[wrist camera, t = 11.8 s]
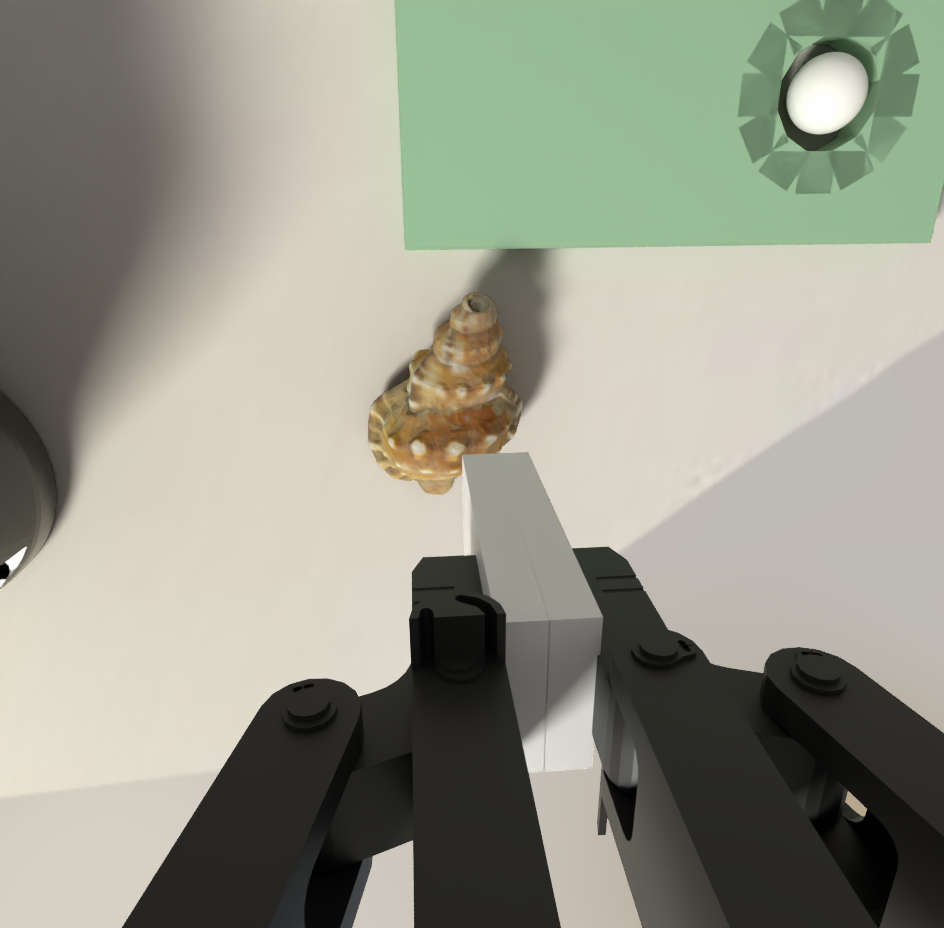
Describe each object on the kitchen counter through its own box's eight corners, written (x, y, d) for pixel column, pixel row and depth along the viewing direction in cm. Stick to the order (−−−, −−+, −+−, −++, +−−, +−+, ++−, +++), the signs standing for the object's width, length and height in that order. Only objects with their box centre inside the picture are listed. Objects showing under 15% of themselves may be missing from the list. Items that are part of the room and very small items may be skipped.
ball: (870, 133, 33) (846, 133, 36) (887, 45, 32) (861, 54, 35) (790, 134, 34) (773, 135, 37) (803, 49, 32) (785, 57, 36)
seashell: (358, 347, 42) (376, 286, 32) (488, 345, 44) (541, 288, 34) (368, 500, 41) (390, 485, 31) (501, 491, 43) (559, 475, 33)
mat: (405, 247, 37) (404, 250, 35) (392, -73, 32) (391, -89, 30) (905, 240, 39) (930, 242, 37) (969, -61, 34) (1001, -75, 32)
